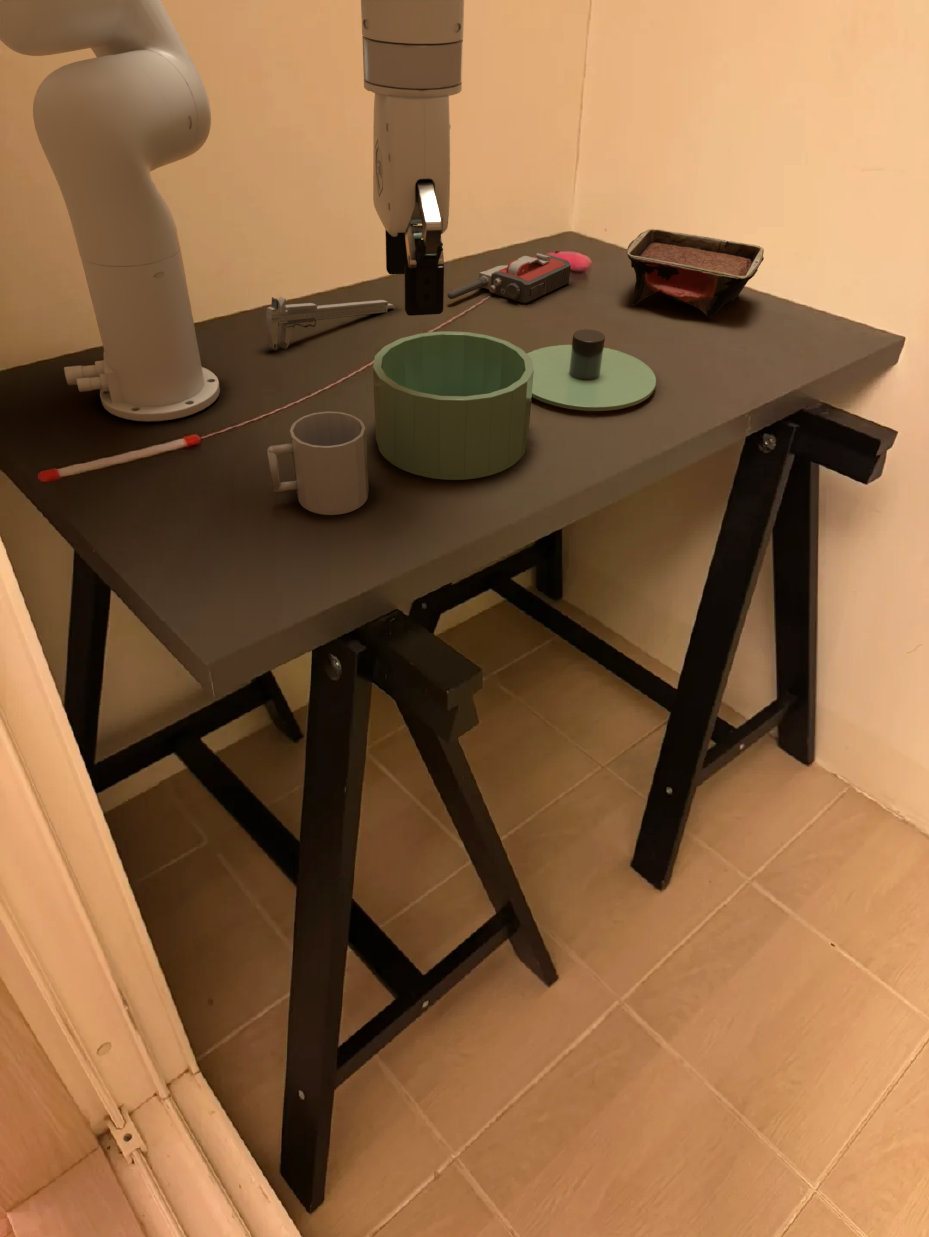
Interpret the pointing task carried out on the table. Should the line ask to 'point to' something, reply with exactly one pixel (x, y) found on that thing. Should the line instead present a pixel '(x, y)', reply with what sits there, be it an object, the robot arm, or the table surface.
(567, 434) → the table surface
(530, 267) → the walkie-talkie
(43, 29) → the robot arm
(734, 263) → the baking dish
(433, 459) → the pot
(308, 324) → the caliper
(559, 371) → the pot lid
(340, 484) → the mug
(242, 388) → the table surface
